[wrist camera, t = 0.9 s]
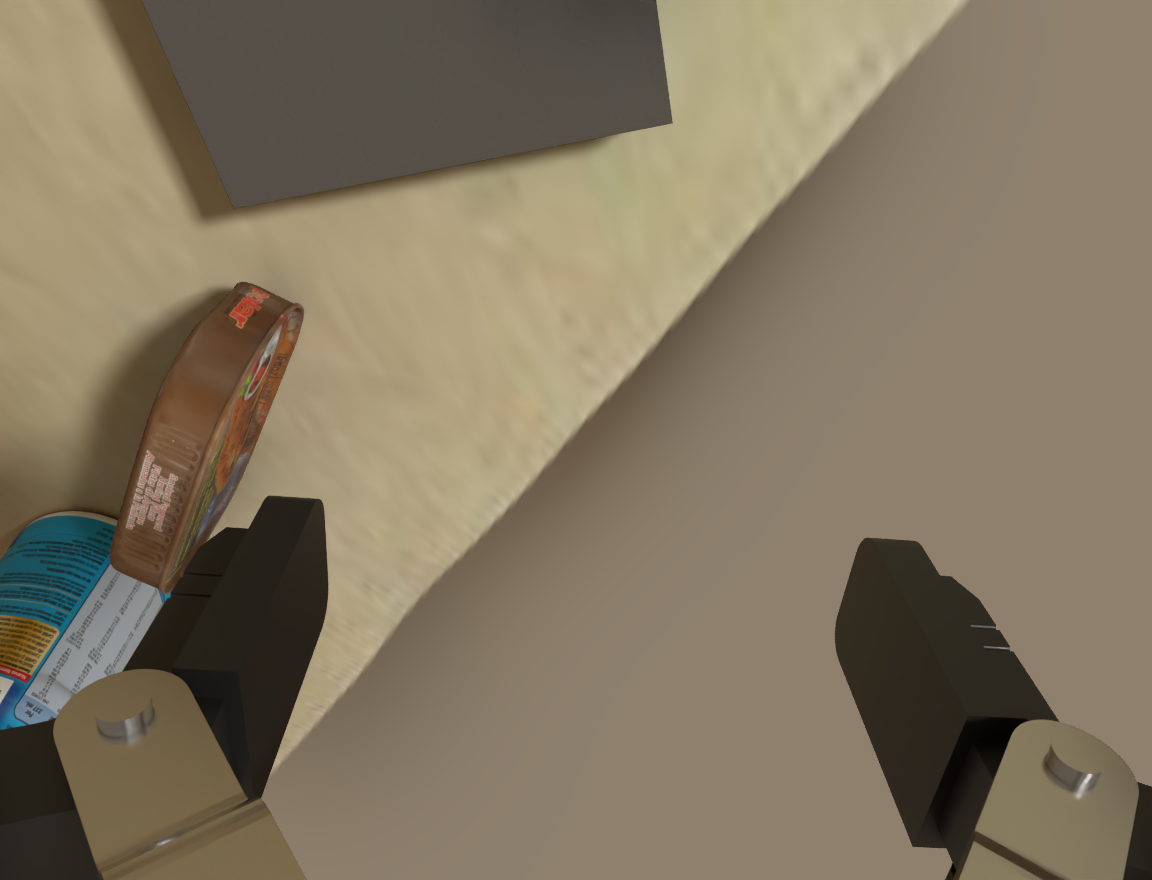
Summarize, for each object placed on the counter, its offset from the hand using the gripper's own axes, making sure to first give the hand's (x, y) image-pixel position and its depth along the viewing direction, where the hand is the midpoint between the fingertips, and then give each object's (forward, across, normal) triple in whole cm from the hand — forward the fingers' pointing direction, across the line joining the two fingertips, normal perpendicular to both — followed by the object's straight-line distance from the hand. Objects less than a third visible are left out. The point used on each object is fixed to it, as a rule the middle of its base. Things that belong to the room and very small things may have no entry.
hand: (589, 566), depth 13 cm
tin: (+26, +14, +11) cm, 32 cm away
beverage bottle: (+28, +23, +22) cm, 43 cm away
